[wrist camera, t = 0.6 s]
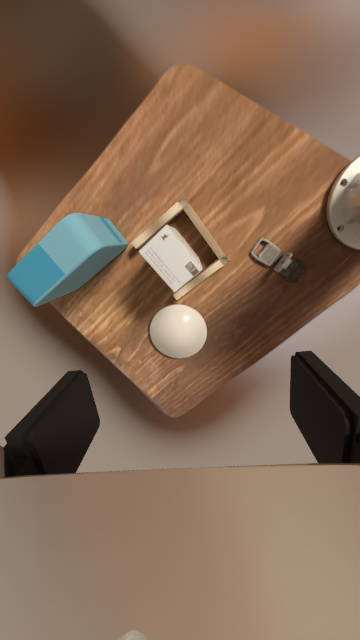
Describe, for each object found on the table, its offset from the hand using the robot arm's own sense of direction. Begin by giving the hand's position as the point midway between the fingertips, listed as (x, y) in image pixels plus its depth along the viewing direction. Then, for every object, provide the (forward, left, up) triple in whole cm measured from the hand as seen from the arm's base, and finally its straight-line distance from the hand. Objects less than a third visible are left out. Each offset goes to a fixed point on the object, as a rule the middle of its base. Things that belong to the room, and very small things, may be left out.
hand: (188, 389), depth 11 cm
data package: (+11, -13, -28) cm, 33 cm away
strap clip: (-11, +5, -29) cm, 31 cm away
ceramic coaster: (+8, +5, -28) cm, 30 cm away
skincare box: (0, -5, -28) cm, 29 cm away
